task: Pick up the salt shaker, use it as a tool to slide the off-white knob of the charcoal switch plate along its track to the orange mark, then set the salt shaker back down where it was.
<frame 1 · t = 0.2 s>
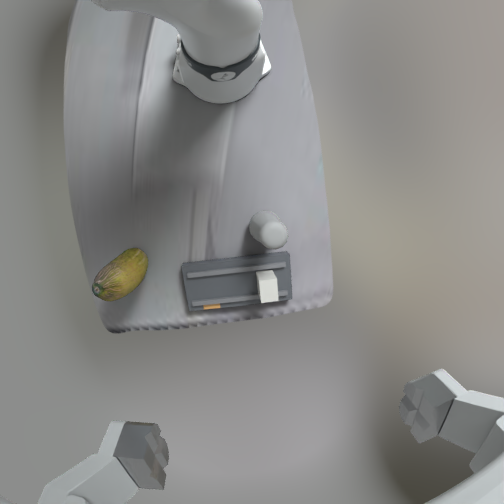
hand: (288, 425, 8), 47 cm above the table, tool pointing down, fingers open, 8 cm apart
vegetable: (140, 260, 53), on the table
slider knob: (266, 285, 51), point 5 cm above the table, slide at 5.0 cm
switch plate: (237, 279, 55), on the table
salt shaker: (263, 224, 54), on the table
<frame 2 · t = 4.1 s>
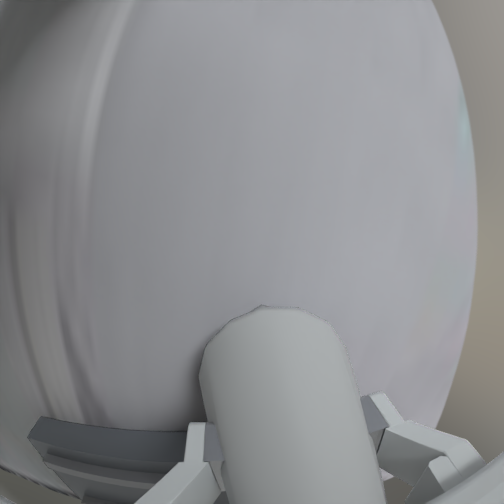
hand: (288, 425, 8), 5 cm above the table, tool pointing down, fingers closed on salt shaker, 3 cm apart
switch plate: (187, 470, 14), on the table
salt shaker: (267, 343, 13), on the table, touching gripper
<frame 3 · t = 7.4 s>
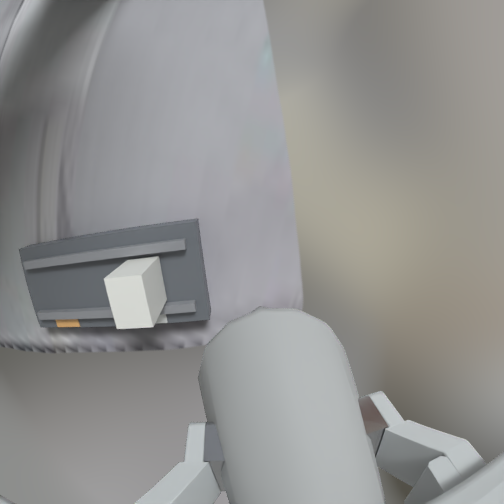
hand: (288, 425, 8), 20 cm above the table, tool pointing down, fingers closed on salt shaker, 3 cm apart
slider knob: (138, 290, 21), point 5 cm above the table, slide at 5.0 cm
switch plate: (109, 276, 26), on the table
salt shaker: (266, 344, 13), point 15 cm above the table, touching gripper
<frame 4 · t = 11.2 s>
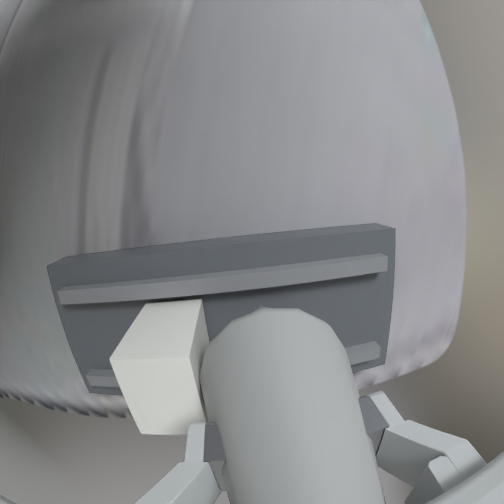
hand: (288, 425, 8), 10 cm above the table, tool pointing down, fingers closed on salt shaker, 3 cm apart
slider knob: (172, 363, 12), point 5 cm above the table, slide at -2.3 cm, touching salt shaker
switch plate: (223, 311, 17), on the table
salt shaker: (267, 344, 13), point 5 cm above the table, touching gripper, slider knob
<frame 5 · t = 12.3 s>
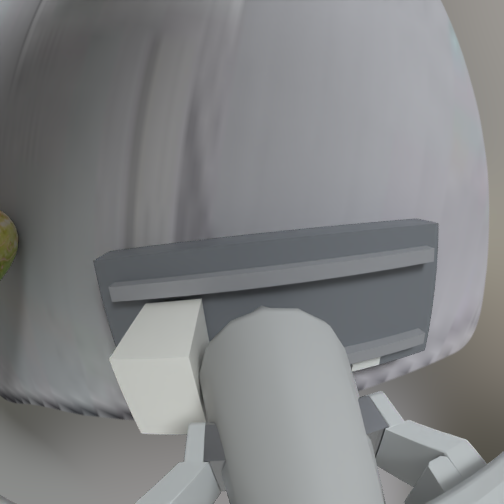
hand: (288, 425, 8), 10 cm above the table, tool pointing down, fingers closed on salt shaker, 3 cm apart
vegetable: (15, 244, 15), on the table
slider knob: (171, 363, 12), point 5 cm above the table, slide at -5.8 cm, touching salt shaker
switch plate: (280, 304, 17), on the table
salt shaker: (266, 344, 13), point 5 cm above the table, touching gripper, slider knob
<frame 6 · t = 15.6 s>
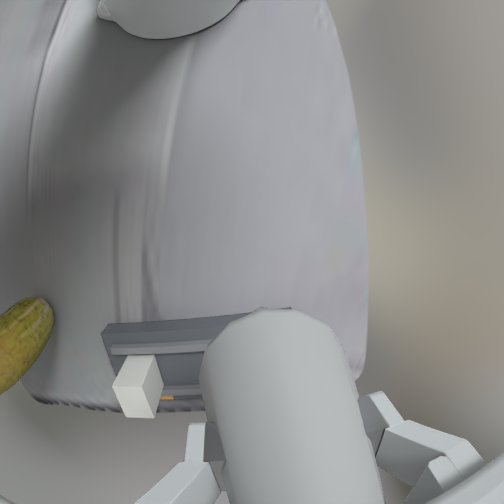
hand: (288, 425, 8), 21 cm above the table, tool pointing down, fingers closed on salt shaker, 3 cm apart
vegetable: (49, 313, 27), on the table
slider knob: (140, 385, 24), point 5 cm above the table, slide at -5.9 cm
switch plate: (201, 354, 30), on the table
salt shaker: (266, 345, 13), point 15 cm above the table, touching gripper
when the fingers open (7 cm above the table, at t = 18.7 s): salt shaker drops 1 cm, on the table.
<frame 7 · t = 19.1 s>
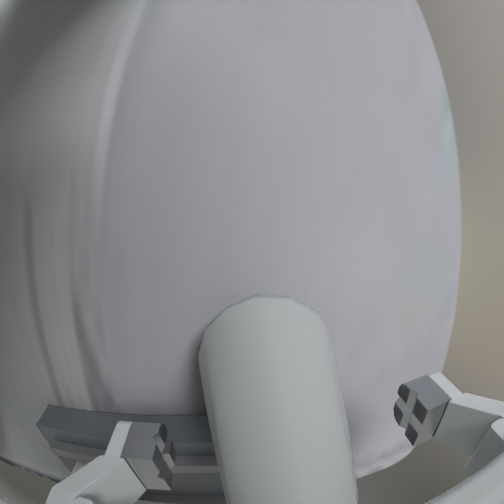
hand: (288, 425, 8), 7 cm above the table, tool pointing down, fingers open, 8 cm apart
switch plate: (189, 456, 16), on the table
salt shaker: (261, 330, 14), on the table
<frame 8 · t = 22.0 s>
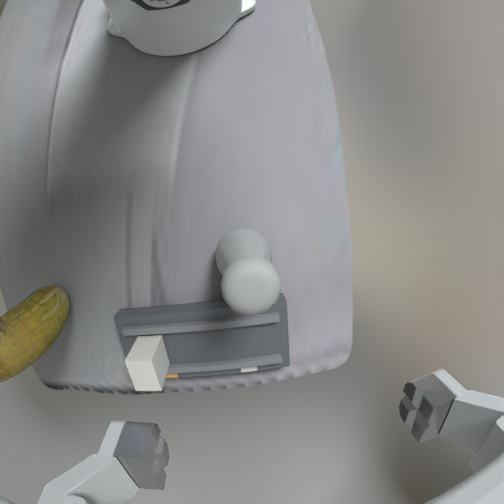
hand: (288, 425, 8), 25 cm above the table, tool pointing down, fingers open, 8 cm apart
vegetable: (65, 301, 32), on the table
slider knob: (148, 362, 28), point 5 cm above the table, slide at -5.9 cm
switch plate: (203, 335, 34), on the table
salt shaker: (242, 250, 32), on the table
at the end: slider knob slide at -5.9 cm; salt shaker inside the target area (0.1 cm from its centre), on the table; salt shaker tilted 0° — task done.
